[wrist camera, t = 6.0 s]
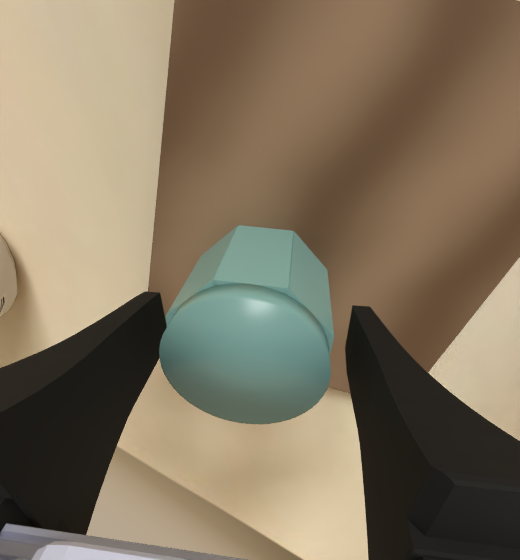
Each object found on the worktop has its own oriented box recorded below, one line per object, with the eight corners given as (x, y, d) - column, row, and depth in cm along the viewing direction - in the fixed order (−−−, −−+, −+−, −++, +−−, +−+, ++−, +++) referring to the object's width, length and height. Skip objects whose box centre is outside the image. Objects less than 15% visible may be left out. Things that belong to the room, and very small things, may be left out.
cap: (334, 234, 13) (346, 311, 9) (314, 338, 16) (316, 433, 12) (199, 221, 13) (149, 287, 9) (203, 324, 16) (167, 412, 12)
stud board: (643, 56, 10) (826, 45, 6) (395, 388, 19) (415, 463, 15) (197, -89, 10) (132, -187, 6) (153, 320, 18) (115, 380, 15)
